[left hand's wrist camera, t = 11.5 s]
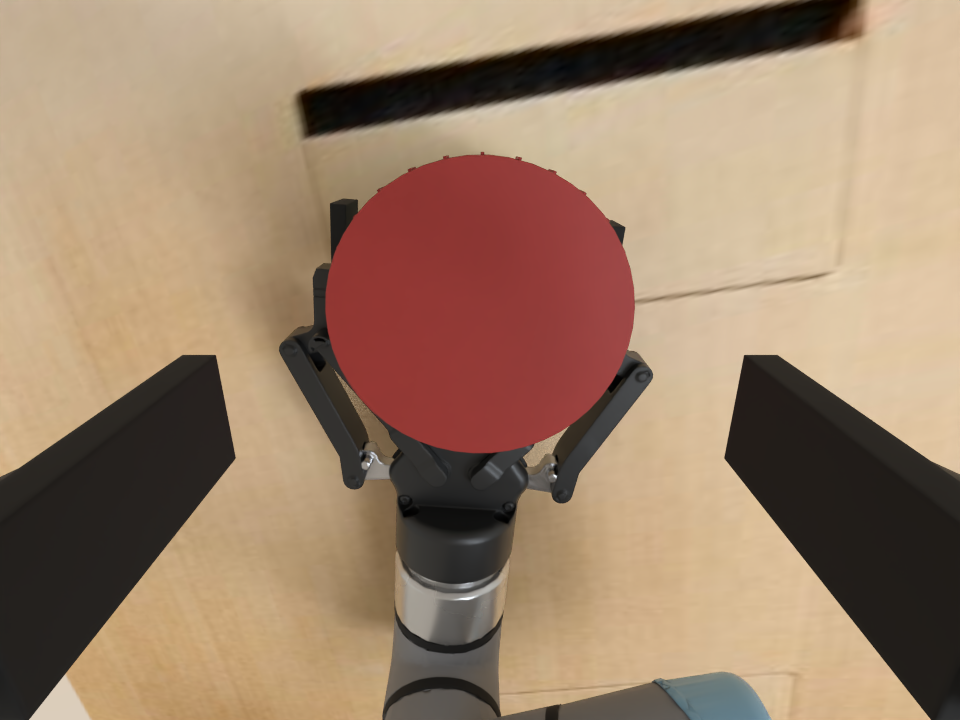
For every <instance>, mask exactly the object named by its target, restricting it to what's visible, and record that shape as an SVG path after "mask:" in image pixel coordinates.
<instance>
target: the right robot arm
mask: <svg viewBox="0 0 960 720" xmlns="http://www.w3.org/2000/svg"><path fill="white" fill-rule="evenodd" d="M357 213H358V200H354V199H341V200H338V201H336V202H333V203H330V220H331V263H332V260H333V257H334V253H335V251H336V247H337V246H338V244H339V242H340V240H341V238H342V236H343V234H344V232H345V231H346V229H347V228H348V226H349V225H350V223H351V221H352V220H353V216H354V215H356V214H357ZM609 221H610V222H609V223H610V225H611V226H612V227H613V229H614V230H615V232H616V234H617V236H618V238H619V240H620V242H621V244H623V238H624V232H625V227H624V226H622V225H620V224H618V223H616V222H615V221H613V220H609ZM330 267H331V264H328V263H323V264H322V265H321V266H319V267H318V268H316V271H315V273H314V276H313V295H314V325H311V326H308V327H304V326H302V327H298V328H297V329H295V330H294V331H293V332H292V333H291V334H290V335H289V336H288V337H287V338H286V339H285V340H284V341H283V342H282V343H281V345H280V347H279V352H280V354H281V356H282V358H283V360H284V361H285V363H286V365H287V367H288V368H289V370H290V372H291V373H292V375H293V377H294V379H295V380H296V382H297V384H298V386H299V387H300V389H301V391H302V392H303V394H304V396H305V398H306V399H307V401H308V403H309V405H310V406H311V408H312V410H313V411H314V413H315V415H316V417H317V418H318V420H319V422H320V424H321V425H322V427H323V429H324V430H325V432H326V434H327V436H328V437H329V439H330V441H331V443H332V444H333V446H334V448H335V449H336V451H337V453H338V455H339V456H340V462H341V468H342V475H343V481H344V484H345V485H346V486H347V487H348V488H350V489H359V488H360V487H362V485H363V483H364V481H365V480H376V479H390V480H391V481H392V483H393V485H394V486H395V489H396V492H397V515H396V547H397V551H396V555H395V602H394V603H395V621H394V637H393V652H392V661H391V668H390V673H389V679H388V685H387V691H386V696H385V702H384V709H383V720H771V718H770V716H769V714H768V712H767V710H766V708H765V707H764V705H763V703H762V702H761V700H760V698H759V697H758V695H757V694H756V692H755V691H754V690H753V689H752V687H751V686H750V685H749V684H748V683H747V682H746V681H744V680H743V679H742V678H740V677H739V676H737V675H735V674H732V673H728V672H717V673H710V674H703V675H697V676H690V677H684V678H677V679H671V680H664V679H661V678H660V679H656V680H654V681H652V683H648V684H644V685H640V686H636V687H632V688H628V689H624V690H620V691H616V692H612V693H608V694H604V695H600V696H596V697H592V698H588V699H583V700H579V701H575V702H571V703H567V704H563V705H561V704H560V705H554V706H549V707H544V708H539V709H535V710H530V711H525V712H521V713H516V714H511V715H507V716H502V717H501V713H500V704H499V676H498V661H499V646H500V635H501V623H502V617H503V611H504V606H505V600H506V592H507V584H508V576H509V567H510V554H511V550H512V543H513V535H514V527H515V519H516V511H517V503H518V500H519V498H520V496H521V494H522V493H523V492H524V491H525V490H526V488H527V489H533V490H539V491H545V492H551V494H552V498H553V500H554V501H555V502H557V503H566V502H568V501H569V500H570V499H571V497H572V494H573V491H574V488H575V485H576V481H577V478H578V475H579V473H580V471H581V470H582V469H583V468H584V466H585V465H586V464H587V462H588V461H589V460H590V459H591V457H592V456H593V455H594V454H595V452H596V451H597V450H598V448H599V447H600V446H601V445H602V443H603V442H604V441H605V439H606V438H607V437H608V436H609V434H610V433H611V432H612V431H613V429H614V428H615V427H616V425H617V424H618V423H619V422H620V420H621V419H622V418H623V416H624V415H625V414H626V413H627V411H628V410H629V409H630V408H631V406H632V405H633V404H634V402H635V401H636V400H637V399H638V397H639V396H640V395H641V394H642V392H643V391H644V390H645V388H646V387H647V386H648V385H649V383H650V382H651V380H652V378H653V373H652V370H651V369H650V368H649V367H648V365H647V364H646V363H645V361H644V360H643V359H642V358H641V356H640V355H639V354H638V353H637V352H635V351H629V350H627V351H626V354H625V357H624V359H623V362H622V364H621V366H620V368H619V370H618V372H617V374H616V376H615V378H614V379H613V381H612V383H611V384H610V385H609V387H608V388H607V390H606V391H605V392H604V394H603V395H602V396H601V398H600V399H599V400H598V401H597V402H596V403H595V404H594V405H593V406H592V407H591V408H590V410H588V411H587V412H586V413H585V414H584V415H583V416H581V417H580V418H579V419H578V420H577V421H576V422H574V423H573V424H571V425H570V426H569V427H568V429H567V430H566V431H565V433H564V434H563V435H562V437H561V438H560V440H559V441H558V443H557V445H556V447H555V449H554V451H553V454H545V456H544V458H542V460H541V461H540V463H539V464H538V465H536V466H534V467H527V464H526V462H525V460H524V459H523V456H524V455H526V454H527V453H528V452H529V451H530V450H531V449H532V448H533V446H534V444H535V443H534V444H532V445H529V446H526V447H522V448H518V449H514V450H510V451H503V452H495V453H466V452H456V451H451V450H446V449H442V448H437V447H434V446H431V445H428V444H425V443H423V442H420V441H417V440H415V439H413V438H411V437H409V436H407V435H405V434H403V433H401V432H400V431H398V430H397V429H395V428H393V427H392V426H390V425H389V424H387V423H386V422H385V421H384V420H382V419H381V418H380V417H379V416H377V415H376V414H375V413H374V412H373V411H372V410H371V409H370V408H369V407H368V406H367V405H366V404H365V403H364V404H365V405H366V406H367V407H368V408H369V409H370V410H371V411H372V413H373V414H374V415H375V416H376V417H377V418H378V419H379V421H380V422H381V423H382V424H383V425H384V426H385V427H386V428H387V430H388V432H389V435H390V438H391V440H392V441H393V442H394V443H395V444H396V446H397V447H398V448H399V449H398V450H397V451H396V452H395V453H394V455H393V457H387V456H385V455H383V454H382V453H381V451H380V449H379V447H378V446H377V443H376V442H374V441H371V442H369V439H368V435H367V432H366V429H365V427H364V425H363V423H362V421H361V419H360V417H359V415H358V413H357V412H356V410H355V408H354V406H353V404H352V402H351V401H350V399H349V397H348V395H347V393H346V391H345V390H344V388H343V386H342V384H341V382H340V380H339V379H338V377H337V375H336V373H335V371H336V372H337V373H338V374H339V375H340V377H341V378H342V379H343V380H344V381H345V382H346V383H347V384H348V386H349V387H350V388H351V389H352V390H353V388H352V387H351V386H350V384H349V383H348V381H347V379H346V377H345V376H344V374H343V372H342V370H341V369H340V367H339V364H338V362H337V359H336V357H335V354H334V352H333V349H332V345H331V342H330V338H329V334H328V329H327V321H326V313H325V307H326V287H327V280H328V274H329V270H330ZM333 369H334V370H335V371H334V370H333ZM353 391H354V390H353ZM354 392H355V391H354ZM355 393H356V392H355ZM356 395H357V394H356ZM357 396H358V395H357ZM358 397H359V396H358Z"/></svg>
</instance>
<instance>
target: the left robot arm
mask: <svg viewBox="0 0 960 720" xmlns="http://www.w3.org/2000/svg"><path fill="white" fill-rule="evenodd" d="M235 458H236V457H235V452H234V447H233V442H232V437H231V431H230V426H229V421H228V416H227V411H226V405H225V400H224V395H223V390H222V385H221V380H220V374H219V369H218V364H217V359H216V355H182V356H181V357H179V358H178V359H176V360H175V361H173V362H172V363H170V364H169V365H168V366H166V367H165V368H163V369H162V370H160V371H159V372H157V373H156V374H155V375H153V376H152V377H150V378H149V379H147V380H146V381H144V382H143V383H142V384H140V385H139V386H137V387H136V388H134V389H133V390H131V391H130V392H129V393H127V394H126V395H124V396H123V397H121V398H120V399H118V400H117V401H116V402H114V403H113V404H111V405H110V406H108V407H107V408H105V409H104V410H103V411H101V412H100V413H98V414H97V415H95V416H94V417H92V418H91V419H90V420H88V421H87V422H85V423H84V424H82V425H81V426H79V427H78V428H77V429H75V430H74V431H72V432H71V433H69V434H68V435H66V436H65V437H64V438H62V439H61V440H59V441H58V442H56V443H55V444H53V445H52V446H51V447H49V448H48V449H46V450H45V451H43V452H42V453H40V454H39V455H38V456H36V457H35V458H33V459H32V460H30V461H29V462H27V463H26V464H25V465H23V466H22V467H20V468H19V469H16V470H14V471H12V472H10V473H8V474H6V475H3V476H1V477H0V720H29V719H30V718H31V716H32V715H33V714H34V713H35V711H36V710H37V709H38V708H39V706H40V705H41V704H42V702H43V701H44V700H45V699H46V697H47V696H48V695H49V694H50V692H51V691H52V690H53V688H54V687H55V686H56V685H57V684H58V682H59V681H60V680H61V679H62V677H63V676H64V675H65V673H66V672H67V671H68V670H69V668H70V667H71V666H72V665H73V663H74V662H75V661H76V660H77V658H78V657H79V656H80V654H81V653H82V652H83V651H84V649H85V648H86V647H87V646H88V644H89V643H90V642H91V641H92V639H93V638H94V637H95V636H96V634H97V633H98V632H99V630H100V629H101V628H102V627H103V625H104V624H105V623H106V622H107V620H108V619H109V618H110V617H111V615H112V614H113V613H114V611H115V610H116V609H117V608H118V606H119V605H120V604H121V603H122V601H123V600H124V599H125V598H126V596H127V595H128V594H129V593H130V591H131V590H132V589H133V587H134V586H135V585H136V584H137V582H138V581H139V580H140V579H141V577H142V576H143V575H144V574H145V572H146V571H147V570H148V568H149V567H150V566H151V565H152V563H153V562H154V561H155V560H156V558H157V557H158V556H159V555H160V553H161V552H162V551H163V550H164V548H165V547H166V546H167V544H168V543H169V542H170V541H171V539H172V538H173V537H174V536H175V534H176V533H177V532H178V531H179V529H180V528H181V527H182V525H183V524H184V523H185V522H186V520H187V519H188V518H189V517H190V515H191V514H192V513H193V512H194V510H195V509H196V508H197V507H198V505H199V504H200V503H201V501H202V500H203V499H204V498H205V496H206V495H207V494H208V493H209V491H210V490H211V489H212V488H213V486H214V485H215V484H216V483H217V481H218V480H219V479H220V477H221V476H222V475H223V474H224V472H225V471H226V470H227V469H228V467H229V466H230V465H231V464H232V462H233V461H234V460H235ZM724 458H725V460H726V461H727V462H728V464H729V465H730V466H731V467H732V469H733V470H734V471H735V472H736V474H737V475H738V476H739V477H740V479H741V480H742V481H743V483H744V484H745V485H746V486H747V488H748V489H749V490H750V491H751V493H752V494H753V495H754V496H755V498H756V499H757V500H758V501H759V503H760V504H761V505H762V507H763V508H764V509H765V510H766V512H767V513H768V514H769V515H770V517H771V518H772V519H773V520H774V522H775V523H776V524H777V526H778V527H779V528H780V529H781V531H782V532H783V533H784V534H785V536H786V537H787V538H788V539H789V541H790V542H791V543H792V544H793V546H794V547H795V548H796V550H797V551H798V552H799V553H800V555H801V556H802V557H803V558H804V560H805V561H806V562H807V563H808V565H809V566H810V567H811V568H812V570H813V571H814V572H815V574H816V575H817V576H818V577H819V579H820V580H821V581H822V582H823V584H824V585H825V586H826V587H827V589H828V590H829V591H830V593H831V594H832V595H833V596H834V598H835V599H836V600H837V601H838V603H839V604H840V605H841V606H842V608H843V609H844V610H845V611H846V613H847V614H848V615H849V617H850V618H851V619H852V620H853V622H854V623H855V624H856V625H857V627H858V628H859V629H860V630H861V632H862V633H863V634H864V636H865V637H866V638H867V639H868V641H869V642H870V643H871V644H872V646H873V647H874V648H875V649H876V651H877V652H878V653H879V654H880V656H881V657H882V658H883V660H884V661H885V662H886V663H887V665H888V666H889V667H890V668H891V670H892V671H893V672H894V673H895V675H896V676H897V677H898V679H899V680H900V681H901V682H902V684H903V685H904V686H905V687H906V689H907V690H908V691H909V692H910V694H911V695H912V696H913V697H914V699H915V700H916V701H917V703H918V704H919V705H920V706H921V708H922V709H923V710H924V711H925V713H926V714H927V715H928V716H929V718H930V719H931V720H960V474H958V473H955V472H953V471H951V470H949V469H947V468H944V467H942V466H940V465H938V464H936V463H934V462H931V461H930V460H928V459H927V458H925V457H924V456H922V455H921V454H920V453H918V452H917V451H915V450H914V449H912V448H911V447H909V446H908V445H907V444H905V443H904V442H902V441H901V440H899V439H898V438H896V437H895V436H894V435H892V434H891V433H889V432H888V431H886V430H885V429H883V428H882V427H881V426H879V425H878V424H876V423H875V422H873V421H872V420H870V419H869V418H868V417H866V416H865V415H863V414H862V413H860V412H859V411H857V410H856V409H855V408H853V407H852V406H850V405H849V404H847V403H846V402H844V401H843V400H842V399H840V398H839V397H837V396H836V395H834V394H833V393H831V392H830V391H829V390H827V389H826V388H824V387H823V386H821V385H820V384H818V383H817V382H816V381H814V380H813V379H811V378H810V377H808V376H807V375H805V374H804V373H803V372H801V371H800V370H798V369H797V368H795V367H794V366H792V365H791V364H790V363H788V362H787V361H785V360H784V359H782V358H781V357H779V356H778V355H744V359H743V364H742V369H741V374H740V380H739V385H738V390H737V395H736V400H735V405H734V411H733V416H732V421H731V426H730V431H729V437H728V442H727V447H726V452H725V457H724Z"/></svg>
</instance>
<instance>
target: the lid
mask: <svg viewBox="0 0 960 720" xmlns="http://www.w3.org/2000/svg"><path fill="white" fill-rule="evenodd" d="M521 159H522V158H521V157H516V158H515V159H513V158H509V157H503V156H495V155H484V152H481V155H464V156H458V157H451V158H449V155H448V156H443V160H439V161H436V162H433V163H429V164H426V165H423V166H421V167H419V168H416V167H413V168H410V169H408V173H406V174H403V175H402V176H400V177H399V178H397V179H396V180H394V181H393V182H391V183H389V184H388V185H386V186H385V187H382V188H380V189H378V190H377V191H378V193H377V194H376V195H374V196H373V197H372V198H371V199H370V200H369V201H368V202H367V203H366V204H365V205H364V206H363V208H362V209H361V210H360V211H359V212H358V213H357V214H356V215H354V216H353V220H352V221H351V223H350V225H349V226H348V228H347V229H346V231H345V232H344V234H343V236H342V238H341V240H340V242H339V244H338V246H337V247H336V251H335V253H334V257H333V260H332V263H331V267H330V270H329V274H328V280H327V287H326V307H325V313H326V321H327V329H328V334H329V338H330V342H331V345H332V349H333V352H334V354H335V357H336V359H337V362H338V364H339V367H340V369H341V370H342V372H343V374H344V376H345V377H346V379H347V381H348V383H349V384H350V386H351V387H352V388H353V390H354V391H355V392H356V394H357V395H358V396H359V398H360V399H361V400H362V401H363V402H364V403H365V404H366V405H367V406H368V407H369V408H370V409H371V410H372V411H373V412H374V413H375V414H376V415H377V416H379V417H380V418H381V419H382V420H384V421H385V422H386V423H387V424H389V425H390V426H392V427H393V428H395V429H397V430H398V431H400V432H401V433H403V434H405V435H407V436H409V437H411V438H413V439H415V440H417V441H420V442H423V443H425V444H428V445H431V446H434V447H437V448H442V449H446V450H451V451H456V452H466V453H495V452H503V451H510V450H514V449H518V448H522V447H526V446H529V445H532V444H534V443H537V442H540V441H543V440H545V439H547V438H549V437H551V436H553V435H555V434H557V433H559V432H561V431H562V430H564V429H565V428H567V427H568V426H570V425H571V424H573V423H574V422H576V421H577V420H578V419H579V418H580V417H581V416H583V415H584V414H585V413H586V412H587V411H588V410H590V408H591V407H592V406H593V405H594V404H595V403H596V402H597V401H598V400H599V399H600V398H601V396H602V395H603V394H604V392H605V391H606V390H607V388H608V387H609V385H610V384H611V383H612V381H613V379H614V378H615V376H616V374H617V372H618V370H619V368H620V366H621V364H622V362H623V359H624V357H625V354H626V351H627V349H628V346H629V342H630V338H631V333H632V329H633V321H634V310H635V303H634V286H633V281H632V275H631V269H630V266H629V263H628V260H627V257H626V254H625V250H624V248H623V246H622V244H621V242H620V240H619V238H618V236H617V234H616V232H615V230H614V229H613V227H612V226H611V225H610V223H609V222H610V221H609V219H607V218H606V217H605V216H604V214H603V213H602V212H601V211H600V210H599V209H598V208H597V206H596V205H595V204H594V203H593V202H592V201H591V200H590V199H589V198H588V197H587V196H586V193H585V192H584V191H581V190H579V189H577V188H576V187H575V186H574V185H572V184H571V183H569V182H568V181H566V180H564V179H563V178H561V177H559V176H558V175H556V173H557V172H556V171H554V170H550V169H549V170H546V169H544V168H541V167H539V166H537V165H534V164H531V163H528V162H524V161H520V160H521Z"/></svg>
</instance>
